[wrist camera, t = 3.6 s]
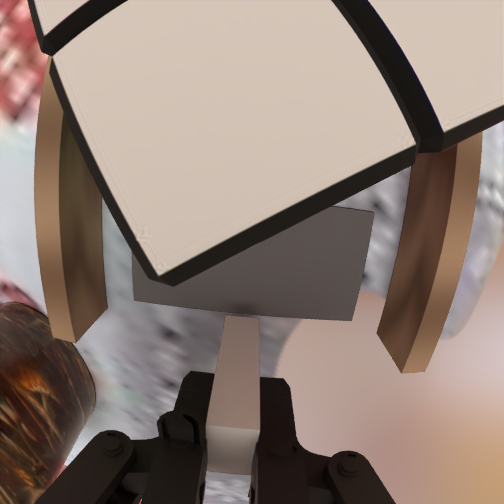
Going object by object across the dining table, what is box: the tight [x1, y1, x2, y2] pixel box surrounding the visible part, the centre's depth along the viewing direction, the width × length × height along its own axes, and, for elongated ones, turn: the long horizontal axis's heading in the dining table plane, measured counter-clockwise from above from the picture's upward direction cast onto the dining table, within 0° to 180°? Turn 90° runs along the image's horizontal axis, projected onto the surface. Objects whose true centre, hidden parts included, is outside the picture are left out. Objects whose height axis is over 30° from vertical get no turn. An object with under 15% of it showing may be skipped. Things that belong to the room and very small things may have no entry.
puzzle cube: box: [28, 0, 504, 287], centre depth 8 cm, size 10×10×10 cm
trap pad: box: [132, 206, 374, 321], centre depth 15 cm, size 6×12×1 cm, turn 85°
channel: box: [34, 56, 483, 373], centre depth 12 cm, size 20×19×4 cm
